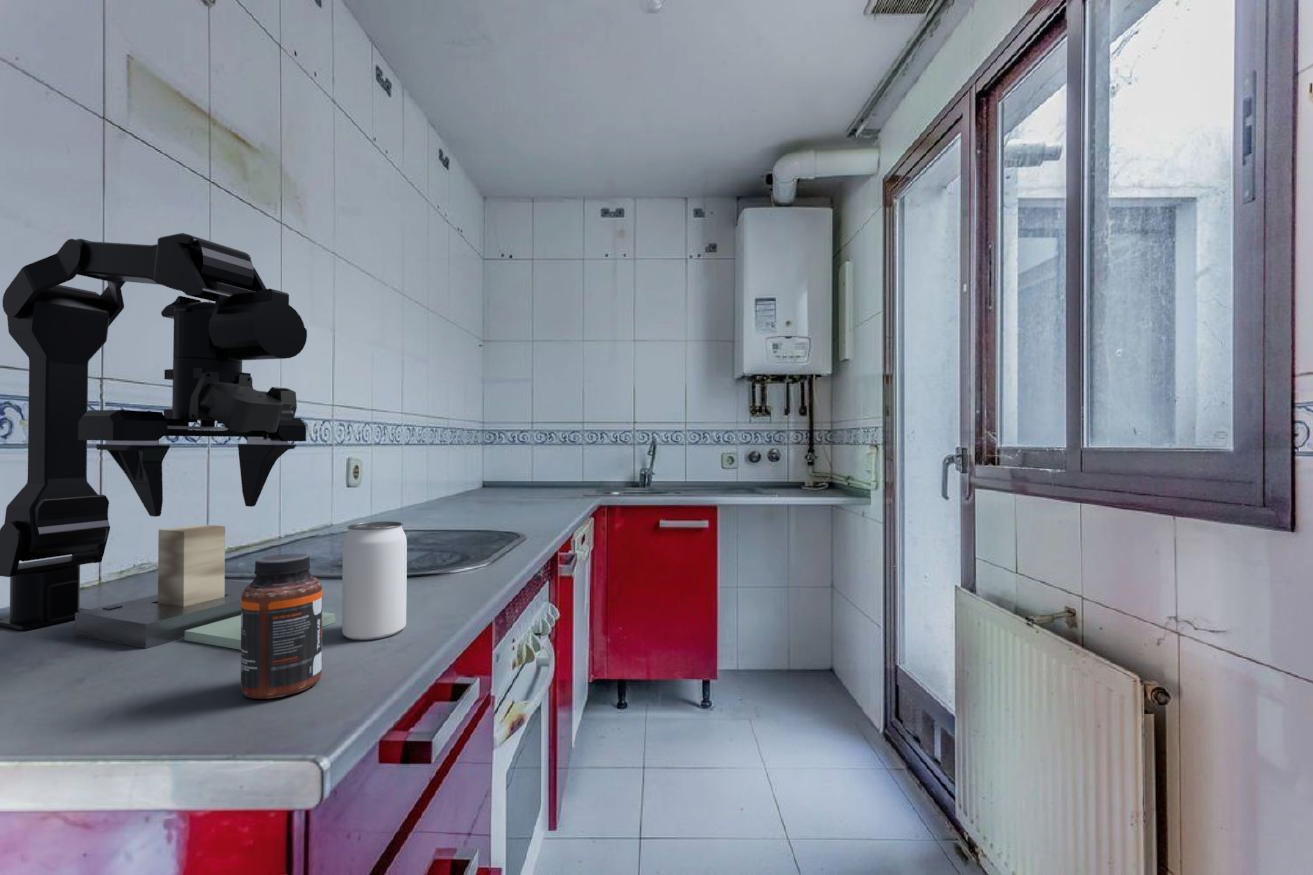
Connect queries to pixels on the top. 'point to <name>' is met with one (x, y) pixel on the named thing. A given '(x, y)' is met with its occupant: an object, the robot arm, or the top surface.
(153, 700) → the top surface
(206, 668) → the top surface
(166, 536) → the peg
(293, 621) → the supplement bottle
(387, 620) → the can
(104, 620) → the plate
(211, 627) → the pad
